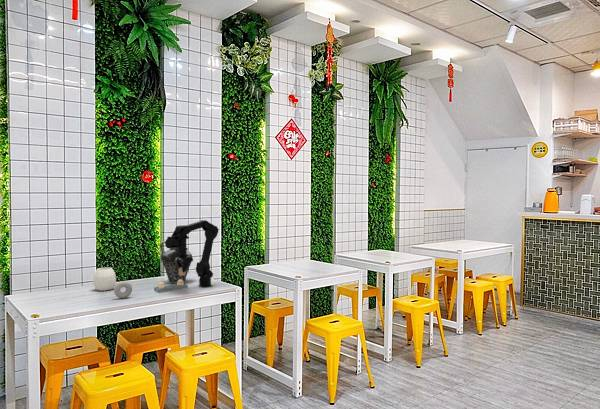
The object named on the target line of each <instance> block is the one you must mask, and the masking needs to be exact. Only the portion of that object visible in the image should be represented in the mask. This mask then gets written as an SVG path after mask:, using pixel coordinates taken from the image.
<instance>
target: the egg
mask: <svg viewBox="0 0 600 409" xmlns="http://www.w3.org/2000/svg"><path fill="white" fill-rule="evenodd" d="M184 275H186V271H185V272H184V273H183V271H182V267H180V268H179V276H184Z"/></svg>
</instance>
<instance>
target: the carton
mask: <svg viewBox="0 0 600 409" xmlns="http://www.w3.org/2000/svg"><path fill="white" fill-rule="evenodd" d="M184 282H185V281H183V280H182V279H180V280H178V281H177V283H173V284H169V285H168V284H167V285H166V284H165V282H164V281H160V282H158V284H157V286H155V287H153V291H154V292H156V293H164V292H173V291H178V290H185V289H189V288H188V287H189V285H188V284H187V283H184Z"/></svg>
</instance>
